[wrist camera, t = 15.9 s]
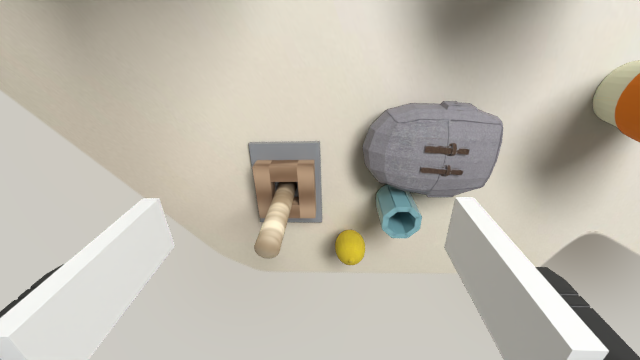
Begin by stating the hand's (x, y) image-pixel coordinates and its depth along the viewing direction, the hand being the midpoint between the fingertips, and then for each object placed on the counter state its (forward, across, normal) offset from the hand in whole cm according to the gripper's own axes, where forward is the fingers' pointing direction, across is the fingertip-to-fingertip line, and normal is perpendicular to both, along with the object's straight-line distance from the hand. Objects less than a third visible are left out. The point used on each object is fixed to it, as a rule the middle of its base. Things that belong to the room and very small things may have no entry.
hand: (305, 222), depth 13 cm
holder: (+34, -7, -16) cm, 38 cm away
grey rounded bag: (+35, +16, -8) cm, 39 cm away
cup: (+35, +12, -19) cm, 41 cm away
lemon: (+35, +4, -27) cm, 44 cm away
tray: (+35, -7, -16) cm, 39 cm away
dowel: (+34, -7, -16) cm, 38 cm away
